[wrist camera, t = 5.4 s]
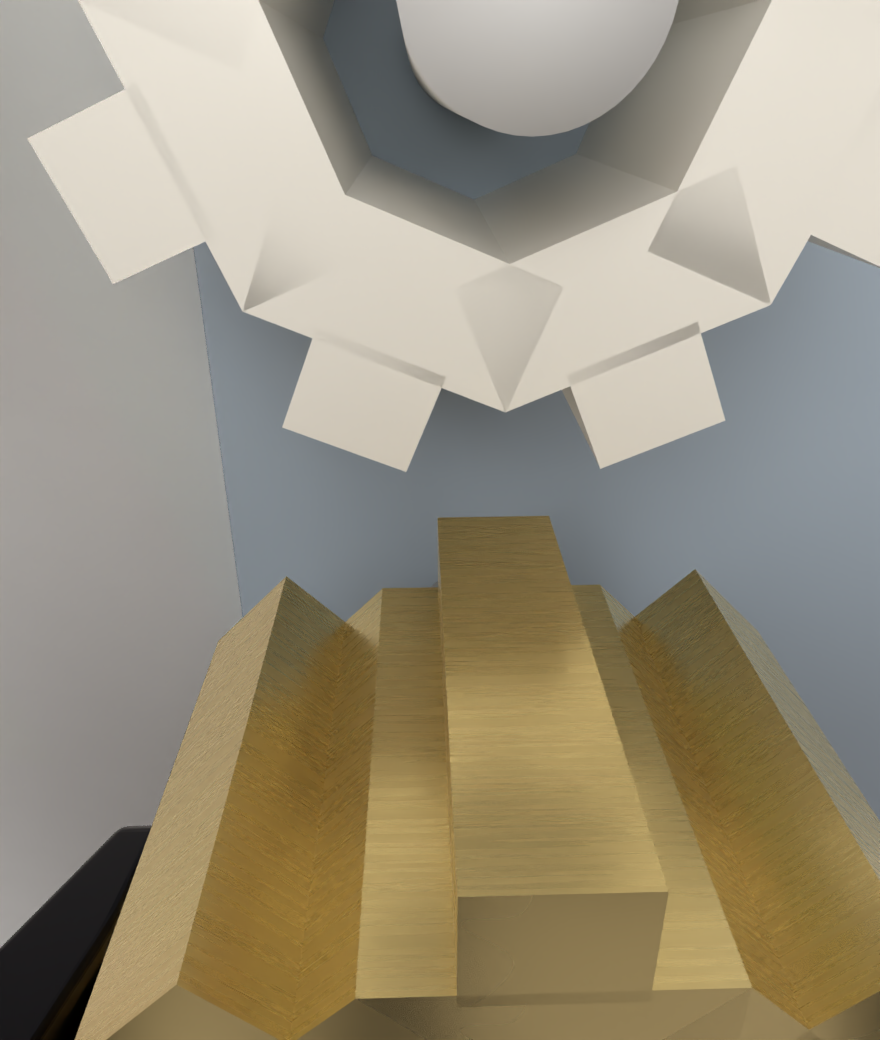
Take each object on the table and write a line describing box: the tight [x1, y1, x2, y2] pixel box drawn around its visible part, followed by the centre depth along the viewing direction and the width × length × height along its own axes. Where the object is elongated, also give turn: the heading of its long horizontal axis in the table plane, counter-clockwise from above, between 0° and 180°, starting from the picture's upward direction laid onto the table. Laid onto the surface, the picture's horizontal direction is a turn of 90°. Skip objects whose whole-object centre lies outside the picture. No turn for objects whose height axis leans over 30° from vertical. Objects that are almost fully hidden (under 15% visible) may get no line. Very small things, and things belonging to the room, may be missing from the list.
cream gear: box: [27, 0, 880, 472], centre depth 8 cm, size 7×7×4 cm
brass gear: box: [75, 516, 880, 1040], centre depth 8 cm, size 7×7×4 cm
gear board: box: [193, 0, 880, 821], centre depth 10 cm, size 20×15×6 cm
